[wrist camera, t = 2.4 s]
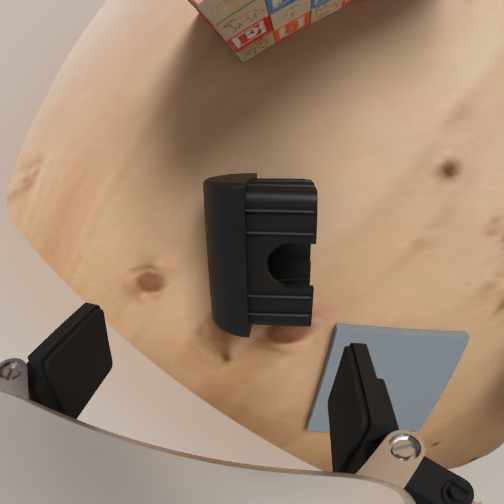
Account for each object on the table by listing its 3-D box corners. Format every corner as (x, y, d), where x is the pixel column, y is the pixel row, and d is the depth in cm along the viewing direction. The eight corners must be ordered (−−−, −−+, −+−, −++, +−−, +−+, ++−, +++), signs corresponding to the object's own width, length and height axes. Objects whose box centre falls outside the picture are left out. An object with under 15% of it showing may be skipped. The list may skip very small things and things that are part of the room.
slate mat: (465, 331, 25) (469, 337, 25) (417, 425, 30) (418, 431, 29) (336, 323, 27) (337, 329, 26) (306, 424, 32) (306, 430, 31)
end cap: (217, 172, 24) (190, 184, 18) (311, 172, 23) (318, 184, 17) (223, 291, 27) (203, 336, 21) (307, 294, 26) (310, 341, 20)
